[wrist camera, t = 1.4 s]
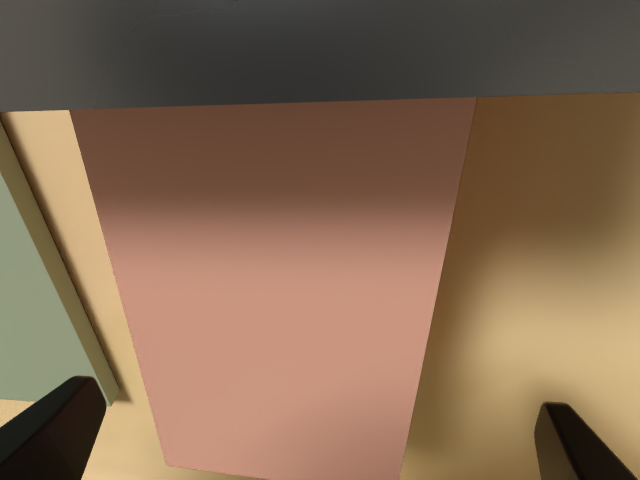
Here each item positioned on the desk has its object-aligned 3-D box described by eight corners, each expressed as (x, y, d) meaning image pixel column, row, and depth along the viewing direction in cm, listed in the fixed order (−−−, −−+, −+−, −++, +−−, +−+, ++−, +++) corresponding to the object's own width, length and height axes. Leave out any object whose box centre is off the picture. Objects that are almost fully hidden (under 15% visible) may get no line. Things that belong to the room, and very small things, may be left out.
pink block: (505, -353, 6) (645, -706, 3) (395, 355, 13) (396, 497, 10) (132, -340, 7) (-136, -627, 3) (220, 336, 14) (165, 465, 10)
